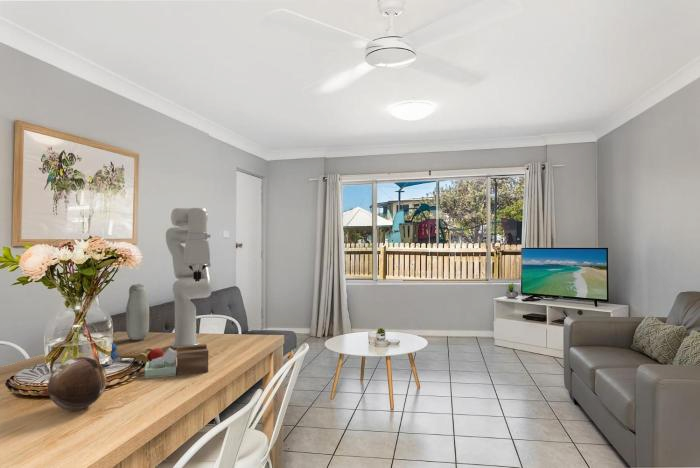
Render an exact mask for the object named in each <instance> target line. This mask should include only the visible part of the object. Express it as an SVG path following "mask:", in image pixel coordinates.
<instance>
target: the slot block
mask: <svg viewBox="0 0 700 468" xmlns="http://www.w3.org/2000/svg"><path fill="white" fill-rule="evenodd" d="M207 347H208V345H207V343H200V344H198V345H187V346H177V348H176V352H177V358H176V376H182V375H190V374H191V375H192V374H200V373H209V349H208V348H207Z"/></svg>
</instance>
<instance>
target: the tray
mask: <svg viewBox="0 0 700 468" xmlns="http://www.w3.org/2000/svg"><path fill="white" fill-rule="evenodd" d="M164 363H165V368H158V369H153V367H152V361H148V362H147V363H146V364H145V368H144V379H146V380H147V379H153V378H154V379H155V378H163V377H173V376H177V358H176V359H175V360H174V361H173V363H172V364H169V363H168V362H166V361H165V360H164Z"/></svg>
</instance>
